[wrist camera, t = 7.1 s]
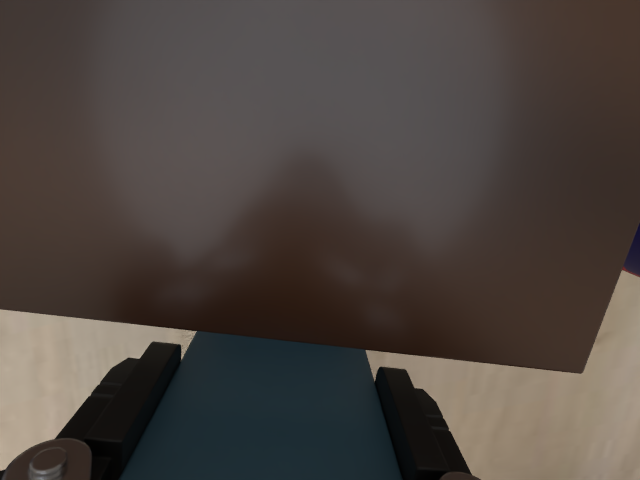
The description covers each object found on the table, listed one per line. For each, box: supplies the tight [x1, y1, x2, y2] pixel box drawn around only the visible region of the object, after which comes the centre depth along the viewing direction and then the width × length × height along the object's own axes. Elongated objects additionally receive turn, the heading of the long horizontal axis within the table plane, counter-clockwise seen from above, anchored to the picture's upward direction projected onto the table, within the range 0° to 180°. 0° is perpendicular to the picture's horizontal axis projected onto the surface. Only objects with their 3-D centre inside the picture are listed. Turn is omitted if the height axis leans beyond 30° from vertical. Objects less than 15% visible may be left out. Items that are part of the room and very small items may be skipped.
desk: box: [0, 0, 640, 374], centre depth 14 cm, size 12×16×13 cm
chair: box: [118, 331, 403, 480], centre depth 14 cm, size 6×6×17 cm
